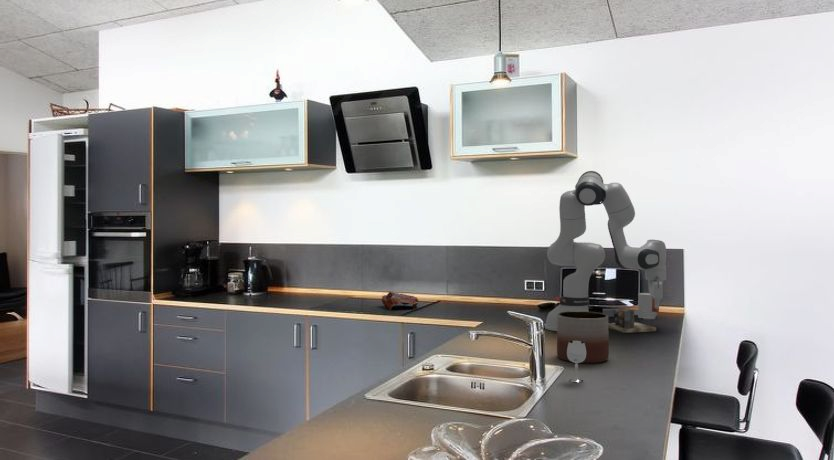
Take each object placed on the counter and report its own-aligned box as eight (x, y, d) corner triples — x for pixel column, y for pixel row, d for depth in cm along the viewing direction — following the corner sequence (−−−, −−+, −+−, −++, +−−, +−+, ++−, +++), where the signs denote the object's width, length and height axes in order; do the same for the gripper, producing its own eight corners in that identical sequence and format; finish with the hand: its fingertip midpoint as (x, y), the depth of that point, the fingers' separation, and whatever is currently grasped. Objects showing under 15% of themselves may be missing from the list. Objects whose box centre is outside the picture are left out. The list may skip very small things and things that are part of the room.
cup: (656, 319, 300) (656, 295, 300) (639, 318, 302) (639, 294, 302) (653, 316, 308) (653, 293, 308) (636, 316, 310) (637, 292, 310)
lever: (603, 316, 276) (603, 298, 276) (602, 315, 280) (602, 297, 280) (659, 318, 270) (659, 300, 270) (658, 317, 274) (658, 299, 274)
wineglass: (564, 378, 189) (564, 340, 188) (582, 378, 189) (582, 340, 189) (570, 383, 183) (570, 344, 183) (589, 383, 183) (589, 343, 183)
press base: (623, 332, 265) (623, 312, 265) (605, 326, 280) (605, 307, 280) (655, 331, 269) (656, 310, 269) (636, 325, 284) (636, 306, 283)
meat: (402, 304, 356) (402, 287, 356) (427, 308, 340) (427, 290, 340) (374, 308, 342) (374, 290, 342) (398, 312, 326) (398, 293, 326)
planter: (600, 367, 204) (601, 320, 204) (549, 360, 213) (550, 315, 213) (614, 356, 219) (614, 313, 219) (566, 351, 229) (566, 309, 228)
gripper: (666, 278, 261) (666, 310, 262) (660, 273, 281) (660, 303, 281) (650, 278, 263) (650, 309, 263) (645, 273, 283) (645, 303, 283)
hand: (655, 306), depth 272 cm, fingers open, 8 cm apart
